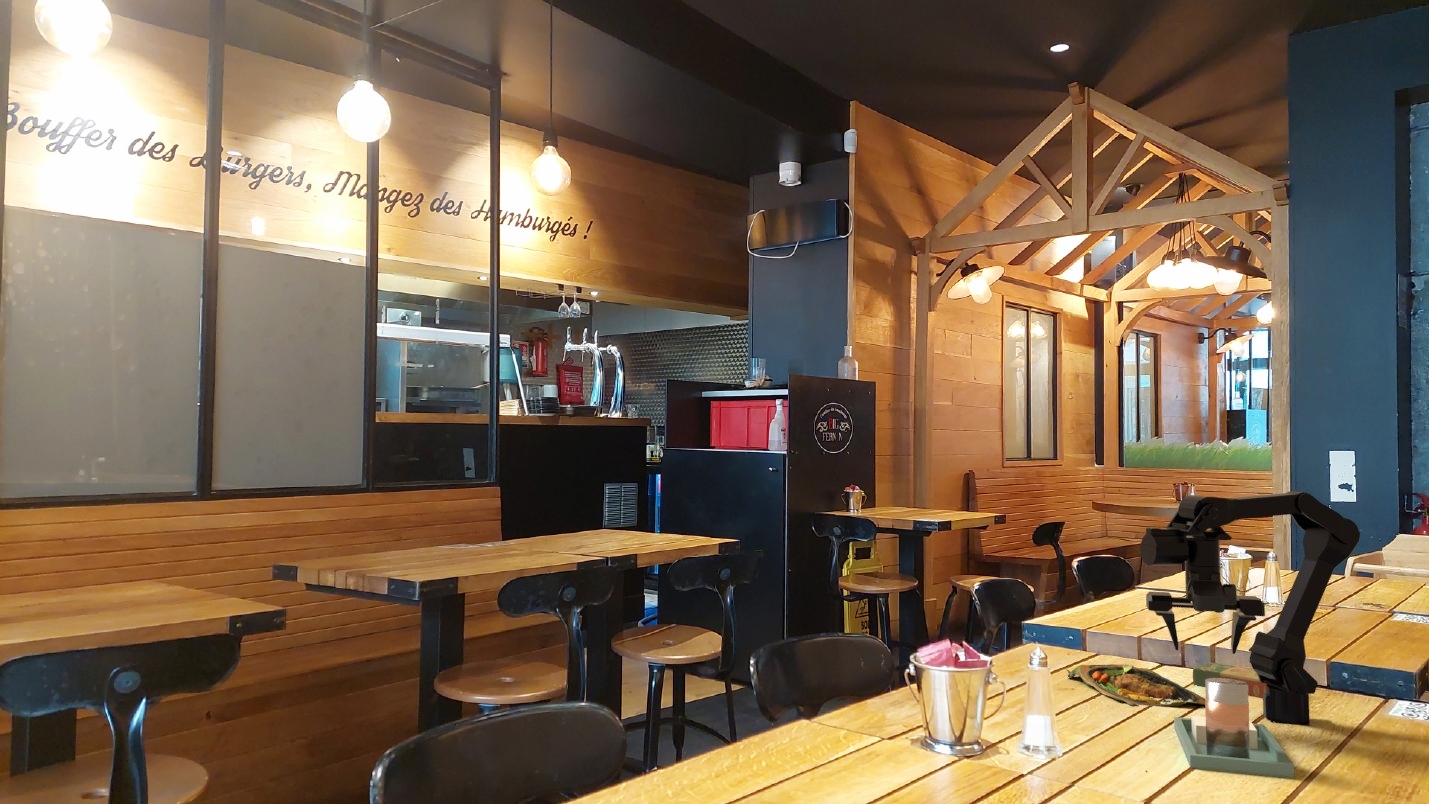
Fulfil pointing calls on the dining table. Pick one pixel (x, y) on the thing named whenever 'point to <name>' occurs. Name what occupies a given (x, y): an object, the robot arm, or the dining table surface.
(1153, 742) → the dining table surface
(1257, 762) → the tray
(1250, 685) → the carton
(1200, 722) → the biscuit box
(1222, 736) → the tin can
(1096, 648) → the dining table surface
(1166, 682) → the prepared meal
